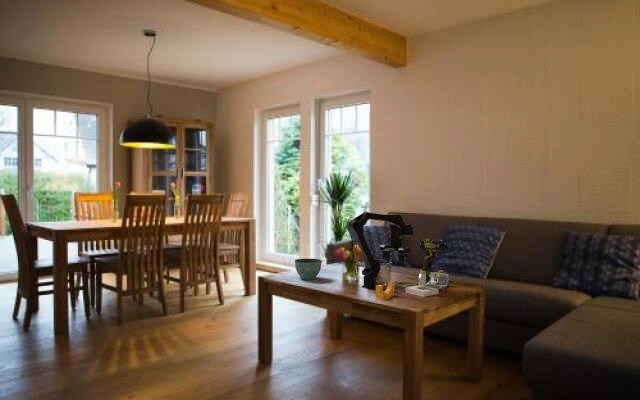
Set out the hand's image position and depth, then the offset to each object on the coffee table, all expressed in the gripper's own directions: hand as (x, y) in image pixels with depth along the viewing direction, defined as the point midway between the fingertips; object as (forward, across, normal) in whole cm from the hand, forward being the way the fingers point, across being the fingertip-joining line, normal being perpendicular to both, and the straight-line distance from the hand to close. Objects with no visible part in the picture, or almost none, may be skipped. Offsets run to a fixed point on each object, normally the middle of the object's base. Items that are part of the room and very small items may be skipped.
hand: (394, 264), depth 265 cm
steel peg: (+12, -21, +1) cm, 24 cm away
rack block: (+12, -21, +1) cm, 24 cm away
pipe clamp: (+12, -17, +23) cm, 31 cm away
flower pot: (+12, +42, +29) cm, 52 cm away
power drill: (+12, -3, -30) cm, 33 cm away
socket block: (+12, -7, +1) cm, 14 cm away
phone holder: (+13, -16, -16) cm, 26 cm away
